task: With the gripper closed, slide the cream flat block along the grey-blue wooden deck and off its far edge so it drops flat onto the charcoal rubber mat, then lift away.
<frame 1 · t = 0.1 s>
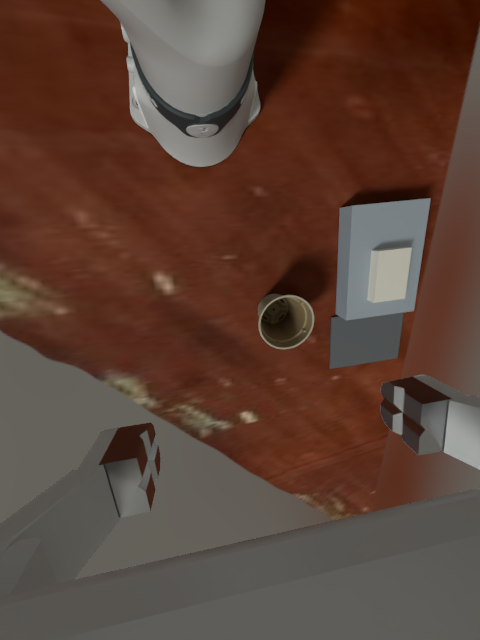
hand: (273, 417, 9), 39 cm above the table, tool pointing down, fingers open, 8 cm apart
deck: (371, 260, 49), on the table
mat: (365, 338, 54), on the table
flower pot: (272, 308, 49), on the table
cream flat block: (384, 274, 45), point 4 cm above the table, touching deck
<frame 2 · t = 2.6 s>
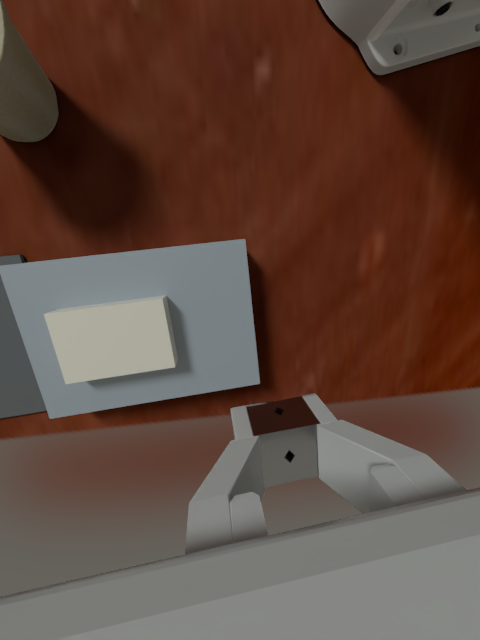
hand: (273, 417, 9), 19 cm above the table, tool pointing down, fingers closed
deck: (153, 321, 26), on the table
flower pot: (22, 103, 21), on the table
cream flat block: (121, 335, 22), point 4 cm above the table, touching deck
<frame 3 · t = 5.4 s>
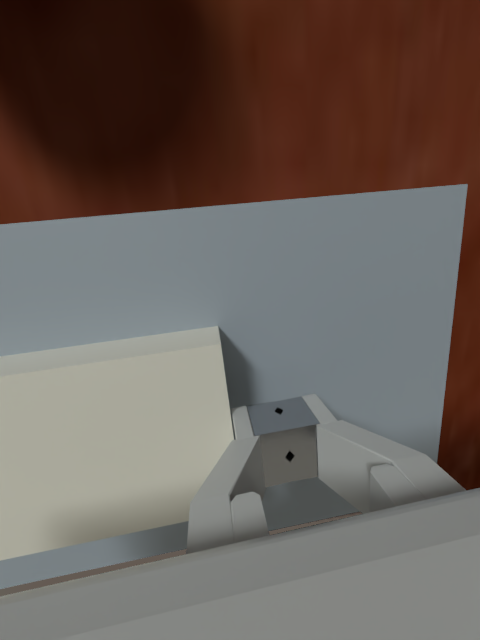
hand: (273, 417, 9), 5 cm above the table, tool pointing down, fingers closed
deck: (211, 362, 14), on the table
cream flat block: (108, 420, 9), point 4 cm above the table, touching deck, gripper
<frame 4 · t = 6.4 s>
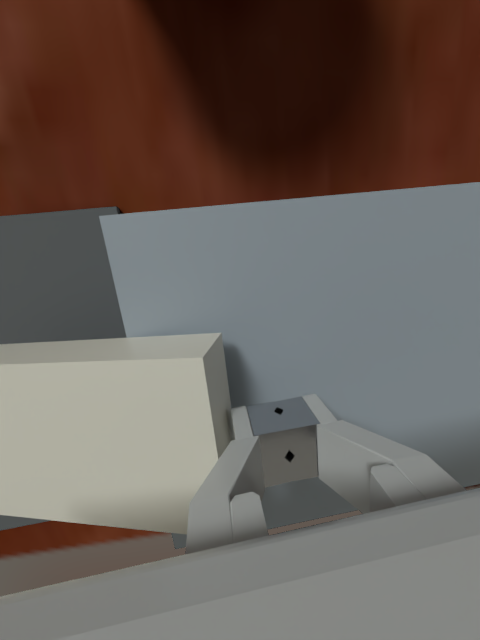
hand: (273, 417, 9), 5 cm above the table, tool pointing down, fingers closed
deck: (340, 342, 14), on the table
mat: (32, 387, 13), on the table
cream flat block: (118, 412, 10), point 4 cm above the table, tilted 17°, touching gripper
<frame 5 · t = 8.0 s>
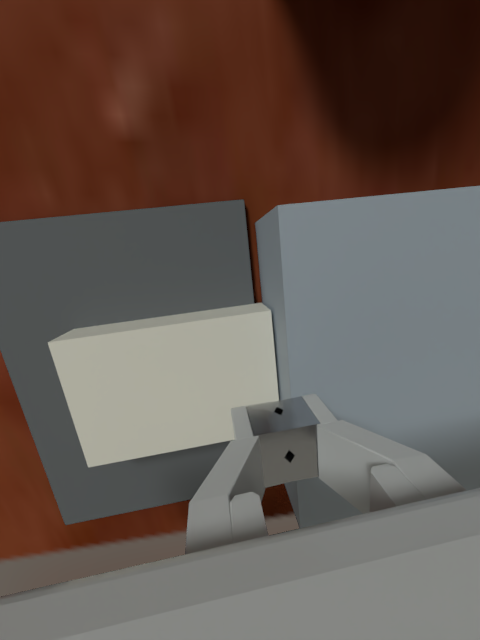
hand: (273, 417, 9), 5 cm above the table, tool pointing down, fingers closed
deck: (433, 331, 15), on the table
mat: (146, 376, 13), on the table
cream flat block: (181, 371, 13), resting on mat
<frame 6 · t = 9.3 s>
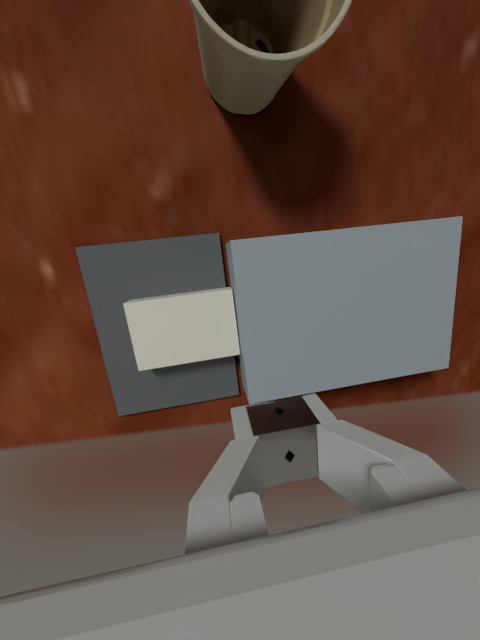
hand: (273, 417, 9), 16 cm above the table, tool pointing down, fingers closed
deck: (330, 304, 26), on the table
mat: (166, 328, 24), on the table
flower pot: (242, 74, 20), on the table
cream flat block: (186, 324, 23), resting on mat
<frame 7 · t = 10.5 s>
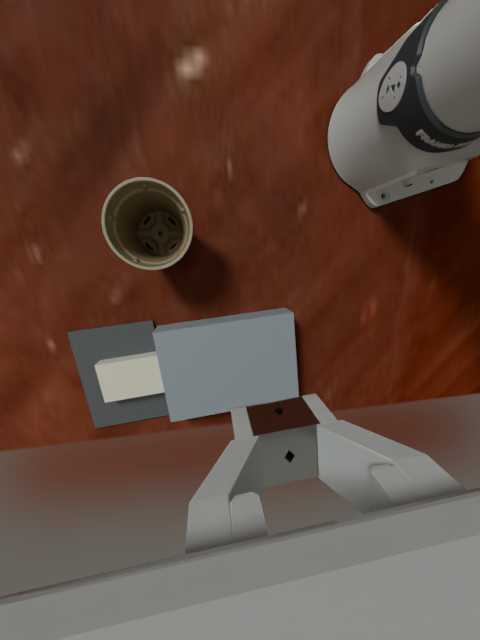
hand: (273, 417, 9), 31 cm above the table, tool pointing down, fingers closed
deck: (228, 358, 41), on the table
mat: (123, 375, 39), on the table
flower pot: (161, 234, 35), on the table
cream flat block: (135, 373, 39), resting on mat
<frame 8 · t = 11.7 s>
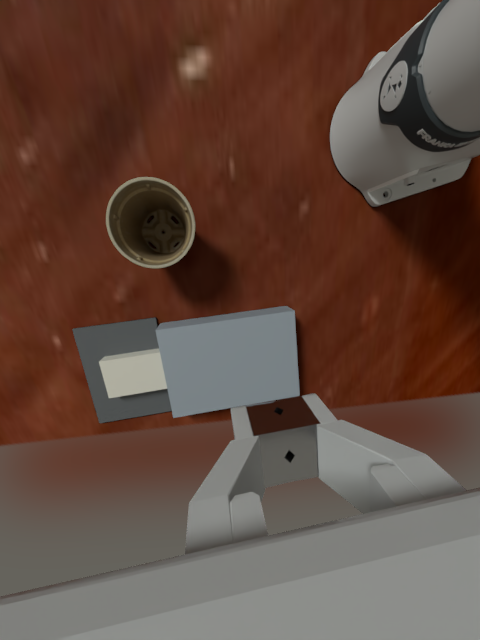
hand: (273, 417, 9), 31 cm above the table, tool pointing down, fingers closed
deck: (230, 355, 41), on the table
mat: (127, 371, 40), on the table
flower pot: (164, 232, 36), on the table
cream flat block: (138, 369, 39), resting on mat
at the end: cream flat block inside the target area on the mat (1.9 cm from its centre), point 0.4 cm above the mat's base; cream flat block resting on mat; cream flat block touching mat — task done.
